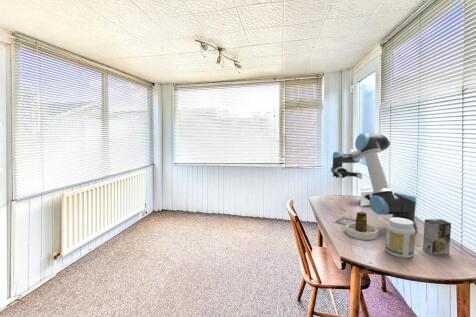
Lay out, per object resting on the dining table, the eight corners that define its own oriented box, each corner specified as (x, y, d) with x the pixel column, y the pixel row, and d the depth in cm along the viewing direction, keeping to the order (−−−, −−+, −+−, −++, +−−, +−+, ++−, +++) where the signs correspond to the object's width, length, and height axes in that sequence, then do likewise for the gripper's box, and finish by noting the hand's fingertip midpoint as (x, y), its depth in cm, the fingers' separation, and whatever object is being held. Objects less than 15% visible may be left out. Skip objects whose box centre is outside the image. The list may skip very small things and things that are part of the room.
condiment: (369, 233, 150) (370, 213, 149) (361, 236, 146) (362, 216, 144) (358, 229, 156) (359, 210, 155) (349, 232, 152) (350, 212, 151)
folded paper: (362, 186, 207) (385, 189, 202) (357, 181, 230) (378, 184, 225) (359, 206, 209) (382, 210, 204) (355, 199, 232) (375, 202, 227)
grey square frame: (363, 222, 172) (363, 221, 172) (356, 227, 162) (356, 227, 162) (342, 217, 181) (342, 217, 181) (334, 222, 171) (334, 221, 171)
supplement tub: (403, 247, 133) (406, 216, 131) (419, 259, 121) (422, 225, 119) (380, 247, 133) (382, 216, 132) (393, 258, 121) (395, 224, 120)
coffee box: (438, 248, 132) (441, 218, 131) (449, 254, 126) (452, 223, 124) (421, 248, 132) (424, 218, 130) (431, 254, 126) (434, 223, 124)
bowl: (381, 234, 151) (381, 227, 151) (372, 242, 139) (372, 235, 139) (351, 226, 163) (352, 220, 163) (341, 234, 151) (341, 227, 150)
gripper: (357, 177, 197) (369, 182, 176) (324, 176, 199) (332, 181, 178) (357, 167, 197) (369, 171, 175) (325, 167, 198) (333, 171, 177)
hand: (351, 176), depth 177 cm, fingers open, 13 cm apart
